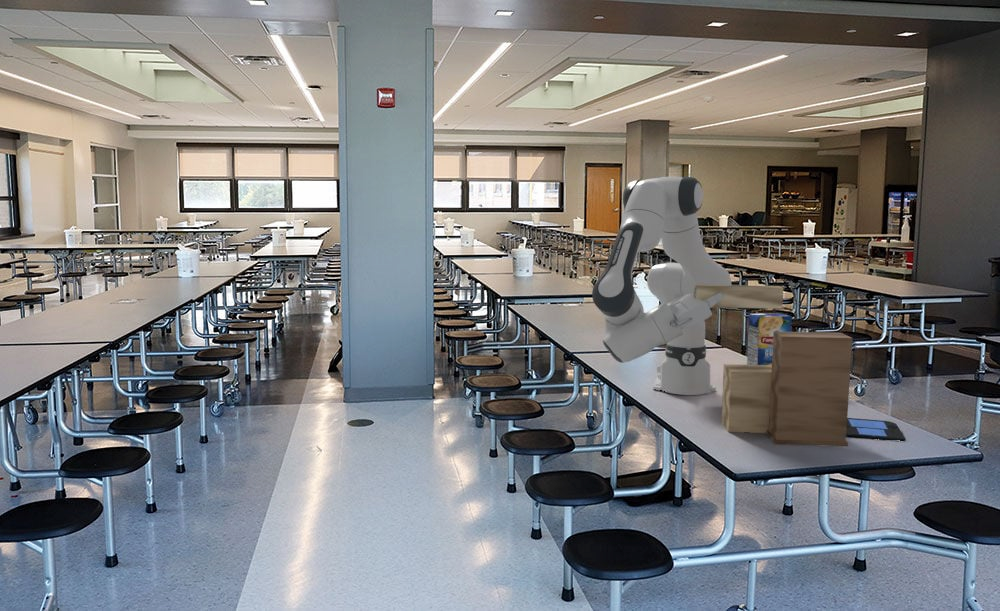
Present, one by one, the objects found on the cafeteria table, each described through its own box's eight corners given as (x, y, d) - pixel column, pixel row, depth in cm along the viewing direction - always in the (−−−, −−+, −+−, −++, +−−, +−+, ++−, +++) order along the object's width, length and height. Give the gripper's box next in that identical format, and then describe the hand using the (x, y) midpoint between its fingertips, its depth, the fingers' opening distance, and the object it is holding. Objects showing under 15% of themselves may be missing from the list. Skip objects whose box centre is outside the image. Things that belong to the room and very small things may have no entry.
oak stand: (721, 422, 204) (724, 358, 202) (807, 424, 202) (811, 360, 200) (728, 432, 195) (731, 365, 193) (818, 434, 193) (822, 367, 191)
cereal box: (745, 381, 251) (748, 313, 249) (776, 379, 253) (780, 313, 251) (756, 385, 245) (759, 316, 242) (788, 384, 247) (791, 316, 244)
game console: (842, 439, 192) (842, 430, 191) (834, 424, 204) (835, 416, 204) (906, 444, 188) (907, 435, 188) (894, 429, 200) (895, 420, 200)
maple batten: (693, 305, 189) (694, 284, 188) (778, 306, 187) (779, 286, 186) (696, 307, 185) (697, 286, 184) (782, 308, 183) (783, 287, 183)
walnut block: (766, 434, 194) (771, 331, 190) (835, 436, 192) (842, 332, 189) (775, 444, 185) (780, 337, 182) (847, 446, 184) (854, 338, 181)
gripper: (667, 316, 177) (722, 287, 175) (657, 304, 198) (706, 278, 196) (680, 340, 178) (735, 311, 176) (668, 326, 198) (717, 300, 196)
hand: (719, 293), depth 186 cm, fingers closed on maple batten, 3 cm apart
